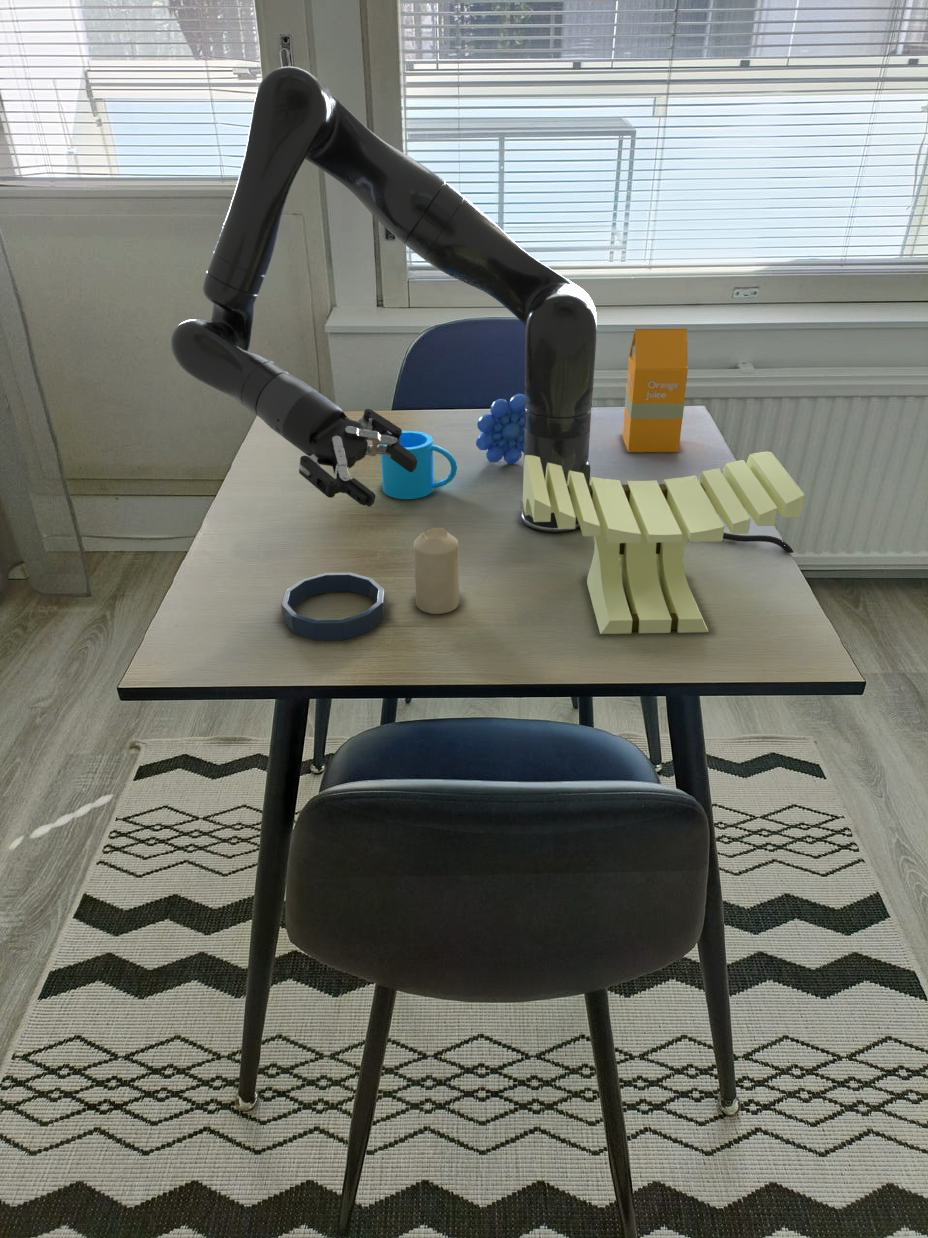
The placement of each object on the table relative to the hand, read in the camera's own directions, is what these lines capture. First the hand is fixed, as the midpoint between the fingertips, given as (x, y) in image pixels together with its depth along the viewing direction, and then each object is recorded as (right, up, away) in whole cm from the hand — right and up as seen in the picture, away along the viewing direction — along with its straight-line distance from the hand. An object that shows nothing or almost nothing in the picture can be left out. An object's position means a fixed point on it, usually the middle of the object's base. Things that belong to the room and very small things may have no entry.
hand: (394, 483), depth 123 cm
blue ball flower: (+17, +9, +39) cm, 43 cm away
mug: (+2, +3, +29) cm, 30 cm away
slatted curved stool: (+32, -15, -1) cm, 35 cm away
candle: (+6, -16, -1) cm, 17 cm away
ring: (-7, -17, -3) cm, 19 cm away
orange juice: (+42, +13, +45) cm, 63 cm away
